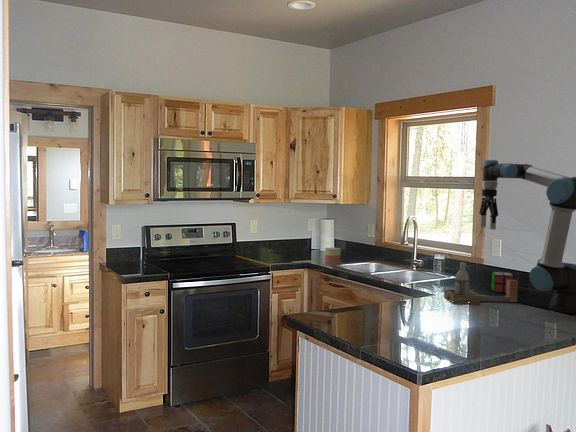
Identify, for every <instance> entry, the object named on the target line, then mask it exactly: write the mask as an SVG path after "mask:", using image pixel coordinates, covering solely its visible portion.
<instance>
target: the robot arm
mask: <svg viewBox="0 0 576 432" xmlns="http://www.w3.org/2000/svg"><path fill="white" fill-rule="evenodd" d="M498 179H521V180H524V181H525V180H526V181H528V182H532V183H533V184H537V185H541V186H543V187H546V197H547V200H548V201H549V204H548V205H549V207H550V208H551V214H550V216H549V218H550V219H549V222H548V227H547V232H546V237H545V242H544V246H543V252H542V255H541V258H539V259H538V260H537V262H536V263H537V264H536V266H534V267H533V268H531V270H530V271H529V280H530V283H531V285H532V287H534V288H535V289H536V290H538V291H540V292H541V291H542V292H550V291H554V292H553V295H552V298H551V300H550V303H549V310H552V311H554V312H560V313H566V314H576V263H572V262H571V263H570V262H564V261H563V258H564V252H565V248H566V244H567V239H568V235H569V231H570V225H571V221H572V216H573V213H574V212H575V211H576V176H572V177H570V176H566V175H562V174H560V173H555V172H553V171H548V170H545V169H542V168H538V167H534V165H532V164H528V163H513V162H511V163H510V162H509V163H508V162H505V163H499V161H498V160H497V159H486V160H484V161H483V164H482V183H481V184H482V186H481V188H482V190H481V196H482V198H481V203H480V207H479V215H480V228H487V212H488V209H489V212H490V216H489V219H490V222H489V230H495V231H496V226H497V224H496V223H497V217H499V212H498V203H497V198H496V197H497V195H498V193H497V192H498V190H497V188H498V184H499V183H498Z"/></svg>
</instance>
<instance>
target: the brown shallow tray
mask: <svg viewBox="0 0 576 432" xmlns="http://www.w3.org/2000/svg"><path fill="white" fill-rule="evenodd" d="M443 290H444V291H443V298H444V299H445V300H447V301H449V303H451V304H452V305H472V306H473V305H475V306H479V305H480V304H481V301H480V296H481V295H480V294H478V293H476V292H474V291H472V290H470V289H469V295H455V288H454V289H451V288H449V289H447V288H445V289H443ZM452 301H453V302H452ZM468 302H470V303H468Z"/></svg>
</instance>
